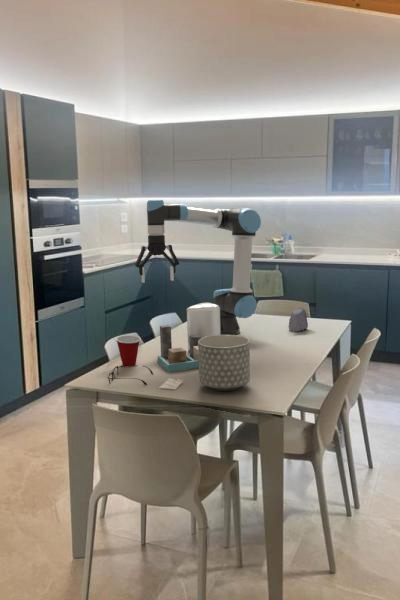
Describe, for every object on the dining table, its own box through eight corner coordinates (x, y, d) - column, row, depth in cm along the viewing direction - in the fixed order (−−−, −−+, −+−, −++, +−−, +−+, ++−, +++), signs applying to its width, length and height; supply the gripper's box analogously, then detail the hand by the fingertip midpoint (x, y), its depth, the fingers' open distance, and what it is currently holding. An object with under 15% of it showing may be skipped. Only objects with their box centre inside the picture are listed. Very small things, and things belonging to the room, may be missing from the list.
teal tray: (208, 355, 258) (208, 349, 257) (221, 364, 244) (221, 357, 243) (157, 362, 250) (157, 355, 249) (167, 372, 236) (167, 365, 235)
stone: (296, 329, 309) (312, 326, 303) (288, 337, 301) (305, 333, 295) (288, 310, 307) (304, 306, 301) (280, 316, 300) (296, 312, 293)
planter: (192, 393, 209) (190, 345, 206) (209, 377, 227) (208, 333, 223) (241, 398, 202) (240, 349, 199) (256, 381, 220) (255, 336, 217)
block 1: (171, 354, 262) (170, 324, 259) (186, 366, 242) (185, 334, 239) (158, 355, 260) (157, 325, 257) (173, 368, 240) (171, 336, 237)
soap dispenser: (205, 343, 279) (203, 299, 275) (229, 347, 271) (228, 301, 267) (186, 350, 267) (185, 304, 263) (211, 355, 259) (210, 307, 255)
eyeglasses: (117, 373, 237) (116, 364, 236) (154, 374, 235) (154, 364, 234) (106, 387, 221) (106, 377, 220) (146, 387, 219) (146, 377, 218)
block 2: (200, 355, 258) (199, 334, 257) (211, 363, 245) (210, 341, 244) (187, 357, 256) (187, 335, 255) (198, 365, 243) (197, 342, 242)
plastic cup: (133, 369, 240) (132, 341, 238) (112, 367, 245) (110, 339, 243) (146, 362, 250) (145, 336, 248) (125, 360, 255) (124, 334, 253)
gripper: (180, 233, 264) (181, 278, 267) (127, 235, 256) (129, 282, 259) (185, 233, 257) (186, 280, 260) (130, 236, 249) (132, 284, 252)
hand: (157, 281), depth 260 cm, fingers open, 13 cm apart
